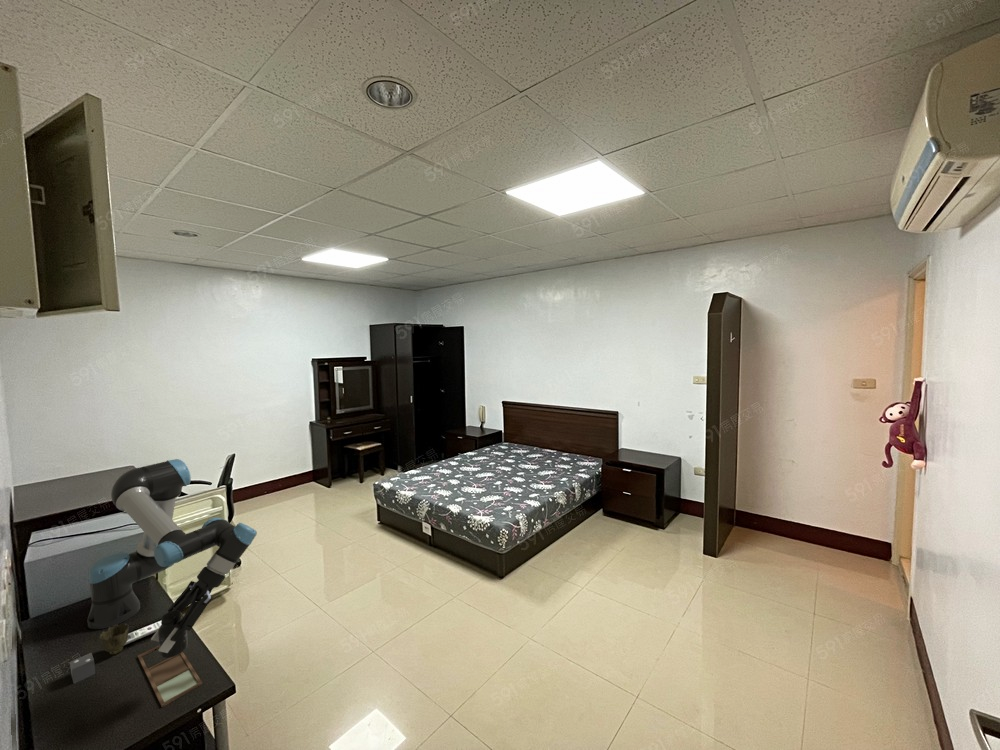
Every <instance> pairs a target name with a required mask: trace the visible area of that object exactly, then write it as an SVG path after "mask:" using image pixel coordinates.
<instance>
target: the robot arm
mask: <svg viewBox="0 0 1000 750" xmlns="http://www.w3.org/2000/svg"><path fill="white" fill-rule="evenodd" d="M191 478H192V477H191V473H190V469H189V467H188V466H187V464H186V463H185V462H184V461H183V460H181V459H177V458H175V459H168V460H167V459H166V461H162V462H157V463H153V464H149V465H144V466H141V467H136V468H132V469H130V470H128V471H126V472H124V473H123V474H122V475H120V476H119V477H118V478H117V480H115V481H114V484H113V486H112V489H111V492H110V493H111V500H112V503H113V505H114V506H115V507H116V509H118V510H119V511H122V512H125V513H127V515H128V516H129V517H130V518H131V519H132V520H133V521H134V522H135V523H136V525H137V526H138V527H139V528H140V530H142V531H143V535H142V540H141V541H140V542H139V543H138V544H137V546H136V551H134V552H131V553H128V552H125V551H123V552H117V553H112V554H110V555H108V556H105V557H103V558H102V559H99V560H98V561H97V562H95V563H94V564H93V565H92V566H91V567H90V569H89V571H88V583H89V590H90V598H91V606H90V610H89V613H88V617H87V619H86V621H87V622H86V623H87V627H88V628H89V629H90V630H103V629H108V628H109V627H111V628H112V627H113V626H114V625H120V624H122V623H124V622H126V621H127V620H129V619H131V618H132V617H134V616H135V615H136V614H138V612H139V611H140V609H141V602H140V599H139V598H138V597H137V595H136V593H135V592H134V590H133V584H135V583H137V582H139V581H142V580H144V579H147V578H149V577H151V576H154V575H156V574H159V573H160V572H164V571H165V570H166V569H169V568H170V567H172V566H174V565H175V564H177V563H180V562H181V561H184V560H186V559H188V558H190V557H192V556H195V555H197V554H199V553H202V552H204V551H206V550H209V549H211V548H213V547H216V546H217V547H218V549H217V550H216V551H215V552H214V554H213V555H212V556H211V557H210V559H209V560H208V561H207V563H206V566H204V567H203V568H201V570H200V571H199V573H198V574H197V575H196V579H197V581H193V580H191V581H190V582H189V583H188V585H187V586H186V588H185V589H184V590H183V591H182V593H181V594H180V595H179V596H178V597H177V599H176V600H175V601H174V602H173V603H172V604H171V606H170V607H168V609H167V613H168V612H170V611H173V610H180V611H181V614H182V613H183V612H184V611H185V610H186V609H187V610H186V611H185V613H184V615H183V617H182V618H183V619H182V620H181V622H180V624H179V626H176V627H175V628H174V630H173V631H172V632H171V634H170V635H169V636H168V638H167V639H166V640H165V642H164V643H163V644H162V646H161V647H160V648H159V649H157V650H158V652H159V653H160V652H165V653H168V652H169V650H170V649H171V648H172V646H173V645H174V644H175V642H176V641H177V640H178V639H179V637H180V636H181V634H182V633H183V632H184V631H185V630H187V632H188V631H189V632H190V631H191V630H192V629H193V627H194V625H195V624H196V623H197V621H198V620H199V618H200V616H201V615H202V613H203V612H204V611H205V609H206V608H207V606H208V605H209V604H210V603H211V601H213V599H214V596H211V593H212V591H213V589H214V588H218V587H219V586H221V584H222V583H223V581H224V580H225V579H226V575H229V573H230V572H231V571H232V569H233V568H234V567H235V565H236V564H237V562H238V561H239V560H240V559H241V557H242V556H243V554H244V553H245V552H246V550H247V549H248V548H249V546H250V545H251V544H252V543H253V541H254V539H255V538H256V536H257V534H258V532H257V530H256V529H254V528H252V527H251V526H248V525H247V524H245V523H243V522H238V523H237V524H236V525H234V524H232V523H230V522H229V521H228V520H226V519H223V518H222V517H212V518H210V519H208V520H207V521H206V522H204V523H203V525H201V528H198V529H195V530H193V531H191V532H187V533H185V532H184V531H183V530H182V528H180V526H179V525H178V524H177V523H176V522H175V521H174V520H173V518H174V511H175V505H176V499H177V498H178V497H179V496H180V495H181V494H182V492H183V491H182V490H183V488H184V487H187V486H189V485H190V483H191V481H192V480H191ZM150 638H151V639H150V641H154V642H157V643H159V636H158V629H157V631H156V632H155V633H154V634H153V635H152V637H150Z"/></svg>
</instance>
